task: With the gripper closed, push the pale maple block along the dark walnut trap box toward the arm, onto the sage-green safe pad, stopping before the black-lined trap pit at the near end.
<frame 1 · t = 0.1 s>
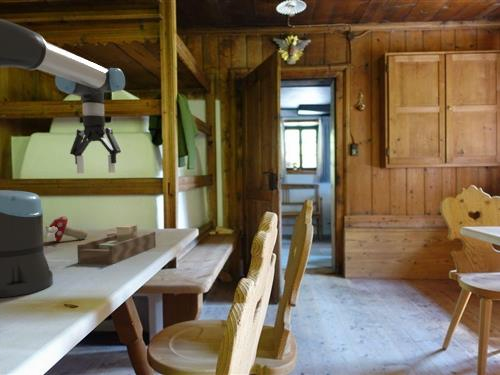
hand: (96, 173, 139), 28 cm above the table, tool pointing down, fingers open, 13 cm apart
maple block: (127, 240, 130), point 4 cm above the table, touching trap box
trap box: (120, 254, 126), on the table
decorative mushroom: (68, 241, 155), on the table
brick: (119, 241, 155), on the table
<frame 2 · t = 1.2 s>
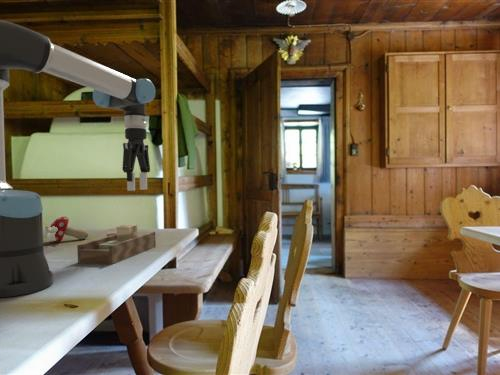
hand: (137, 190, 137), 21 cm above the table, tool pointing down, fingers open, 8 cm apart
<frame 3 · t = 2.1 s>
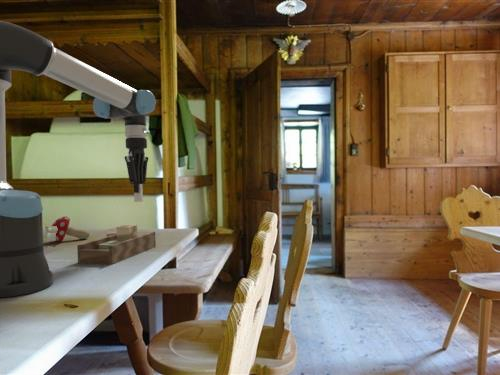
hand: (138, 201, 138), 17 cm above the table, tool pointing down, fingers closed
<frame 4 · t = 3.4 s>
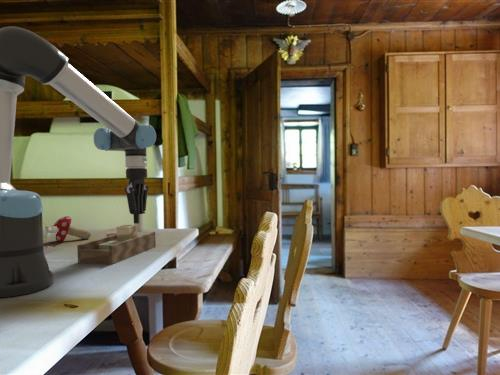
hand: (138, 231, 137), 6 cm above the table, tool pointing down, fingers closed
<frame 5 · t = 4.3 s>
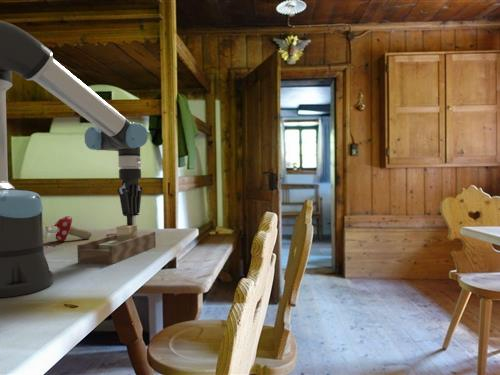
hand: (131, 233, 133), 6 cm above the table, tool pointing down, fingers closed
maple block: (127, 240, 130), point 4 cm above the table, touching gripper
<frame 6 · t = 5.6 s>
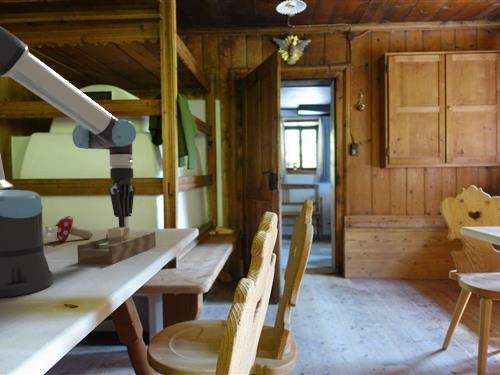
hand: (124, 235, 128), 6 cm above the table, tool pointing down, fingers closed
maple block: (119, 242, 125), point 4 cm above the table, touching gripper
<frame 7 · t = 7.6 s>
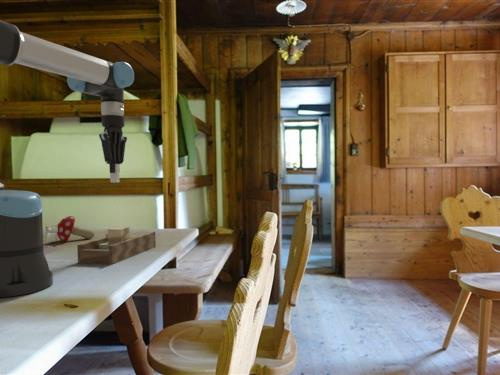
hand: (115, 182, 132), 24 cm above the table, tool pointing down, fingers closed
maple block: (119, 242, 125), point 4 cm above the table, touching trap box
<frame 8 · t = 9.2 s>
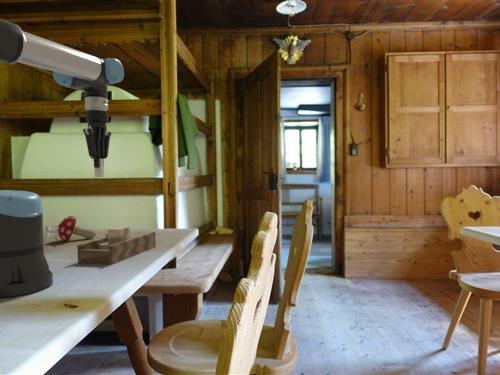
hand: (99, 176, 133), 26 cm above the table, tool pointing down, fingers closed
at the end: maple block 0.3 cm from the target spot on the trap box, point 4.0 cm above the trap box's base; maple block tilted 0°; maple block moved 5.2 cm from its start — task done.
